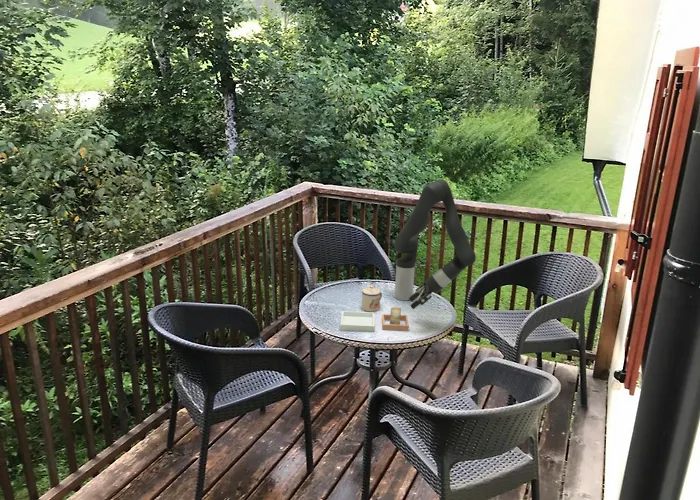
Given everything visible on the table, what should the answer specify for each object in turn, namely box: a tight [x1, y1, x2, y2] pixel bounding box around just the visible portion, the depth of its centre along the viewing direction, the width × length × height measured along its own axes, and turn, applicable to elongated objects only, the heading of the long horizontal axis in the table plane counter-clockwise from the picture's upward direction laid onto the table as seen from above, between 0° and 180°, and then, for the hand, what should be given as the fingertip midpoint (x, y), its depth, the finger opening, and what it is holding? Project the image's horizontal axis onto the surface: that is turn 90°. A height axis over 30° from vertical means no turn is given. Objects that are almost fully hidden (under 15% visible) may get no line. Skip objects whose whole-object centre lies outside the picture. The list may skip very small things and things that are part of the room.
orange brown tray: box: [381, 313, 410, 332], centre depth 255 cm, size 12×12×2 cm
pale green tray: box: [339, 310, 376, 333], centre depth 254 cm, size 15×15×3 cm
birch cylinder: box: [389, 306, 402, 325], centre depth 254 cm, size 5×5×8 cm
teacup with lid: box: [361, 284, 383, 313], centre depth 271 cm, size 12×9×12 cm
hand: (410, 303), depth 252 cm, fingers open, 8 cm apart
